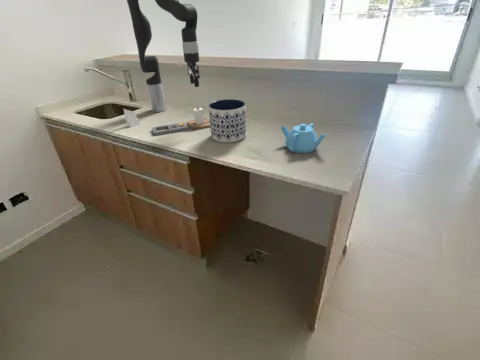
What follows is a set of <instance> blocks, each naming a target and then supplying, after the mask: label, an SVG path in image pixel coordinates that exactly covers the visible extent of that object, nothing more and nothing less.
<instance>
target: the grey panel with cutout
mask: <svg viewBox="0 0 480 360" xmlns="http://www.w3.org/2000/svg"><path fill="white" fill-rule="evenodd" d="M151 130H152V133H153V135H155V136H160V134H161V135H167V134H172V133H177V132H178V133H179V132H183V131H189V127H188V124H186V123H185V122H178V123H171V124H167V125H160V126H153V127H151Z"/></svg>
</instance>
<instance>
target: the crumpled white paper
mask: <svg viewBox="0 0 480 360" xmlns="http://www.w3.org/2000/svg"><path fill="white" fill-rule="evenodd" d="M122 109H123V113H124V116H125V119H126V124H127V126H128V127H130V126H131V128H132V127H135V126H137V125H140V124H141V122H140V119H139V118H137V117H138V116H137V114H136V111H132V110H129V109H127V108H126V109H125V108H122Z"/></svg>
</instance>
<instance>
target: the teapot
mask: <svg viewBox="0 0 480 360" xmlns="http://www.w3.org/2000/svg"><path fill="white" fill-rule="evenodd" d="M314 127H315V125H314V123H312V122H311V123H309V124H306V123H300V124H299V125H295V126H293V128H291V129H290V131H289V129H288V128H287V127H286V125H283V126H282V127H280V129H281V131H282V134H283V135H284V137H285V147H287V149H288V150H289V151H291V152H293V153H296V154H308V153H309V152H310V153H313V151H315V150H316V149H317V147H319V145H320V144H321V143H322V142H323V140H324V139H325V138H326V137H327V134H326V133H322V134H321V135H320V136H319V137H318V135H317V133H316V131H315V130H314Z"/></svg>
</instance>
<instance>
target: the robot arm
mask: <svg viewBox="0 0 480 360" xmlns="http://www.w3.org/2000/svg"><path fill="white" fill-rule="evenodd" d="M154 1H155V3H156V4H157V6H158V7H159V8H160V9H162V10H164V11H165V12H167V13H169V14H171V16H173V18H175V19H176V20H177V21H179V22H183V23H185V25H184V27H183V28H181V30H180V31H181V32H180V33H181V41H182V53H183V60H184V62H185V63H186V65H187V74H188V76H189V81H190V84H191V85H192V84H194V87H195V88H197V87H198V88H199V87H200V81H199V79H200V70H199V69H200V68H199V65H197V63H199V62H200V52H199V45H198V40H197V26H198V11H197V8H196V7H195V5H194V4H192V3H181V2H180V0H154ZM126 2H127V7H128V9H129V13H130V17H131V22H132V23H131V24H132V28H133V33H134V38H135V42H136V45H137V50H138V51H137V52H138V59H139V65H140V69H141V72H143V73H145V74H146V73H147V74H149V73H154V74H153V75H152V76H150V77H148V78H146V80H145V81H146V82H145V83H146V85H147V91H148V95H149V101H150V105H151V111H152V112H154V113H159V112H160V113H161V112H164V111H166V110H167V105H166V99H165V95H164V89H163V84H162V77H161V73H160V72H161V71H160V63H159V59H158V57H157V56H156V55H147V56H146V51H147V48H149V45H150V43H151V41H152V38H153V35H152V33H153V32H152V27H151V23H150V21H149V19H148V17H147V16H146V15H145V14H144V13H143V12H142V10H141V7H140V4H139V3H140V2H139V0H126Z"/></svg>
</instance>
